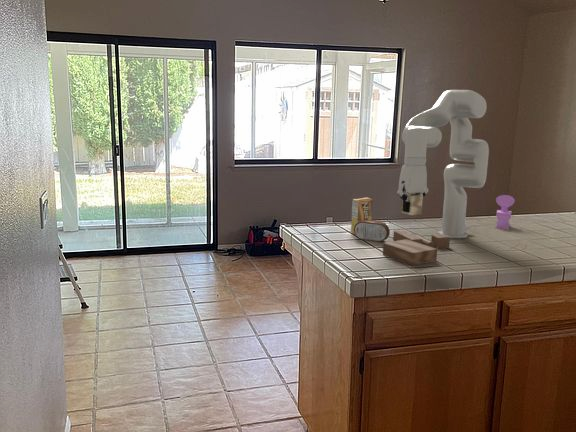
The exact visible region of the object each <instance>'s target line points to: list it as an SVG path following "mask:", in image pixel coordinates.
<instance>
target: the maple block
mask: <svg viewBox="0 0 576 432" xmlns="http://www.w3.org/2000/svg"><path fill="white" fill-rule="evenodd" d="M406 197H407V194H406ZM422 199H423V200H424V197H423V195H419V194H415V193H413V194H411V195H410V199H409V202H410V211H409V213H407V212H403V211H402V210H401V214H406V215H409V216H417V215H422V213H423V212H422V211H423V200H422ZM401 205H402V206H401V209H402V208H403V202H402V204H401Z"/></svg>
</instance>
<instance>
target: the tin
mask: <svg viewBox="0 0 576 432" xmlns="http://www.w3.org/2000/svg"><path fill="white" fill-rule="evenodd" d="M390 230H391V229H390V228H389V225H387V224H386V223H385V222H383V221H377V220H371V221H370V220H360V221H358V222H357V224H356V225H355V226H354V233H355V234H354V235H355V236H356V238H358V239H359V240H363V241H368V242H377V243H381V242H384V241H386V240H387V239H388V238H389V236H390Z"/></svg>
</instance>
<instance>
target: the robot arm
mask: <svg viewBox="0 0 576 432" xmlns="http://www.w3.org/2000/svg"><path fill="white" fill-rule="evenodd" d="M487 108H488V107H487V101H486V99H485V97H483V96H482V94H480V93H478V92H476V91H474V90H470V89H449V90H445V91H443V92H442V94H440V96H439V97H438V99H437V100H436V101H435V103H434V104H433V105H432V107H431V108H430V109H427V110H425V111H422V112H421V113H419V114H417V115H415V116H413V117H412V118H411V119H410V120H409V121H408V122H407V123H406V124H405V126H404V128H403V131H402V134H401V140H402V142H403V144H404V147H405V148H404V159H403V160H404V161H403V162H404V163H403V165H402V167H401V170H400V175H399V178H398V179H399V181H398V189H397V191H396V194H397V195H398V196H399V197H400V200H401V201H402V203H403V208H402V207H401V212H402V211H403V212H407V213H409V211H410V202H409V199H410V195H411V194H413V193H415V194H419V195H423V199H422V201H423V200H424V198H425V196H426V195H427V194H428V192H429V188H428V185H427V184H428V174H427V173H428V171H427V165H426V162H427V148H436V147H437V146H439V145H440V143H441V141H442V139H443V135H442V134H443V133H442V131H441V130H440V128H441V127H444V126H446V125H447V124H449V123H450V127H451V128H450V129H451V131H450V141H449V157H450V158H451V159H452V160H454V161H459V162H460V161H461V162H471V163H473V164H467V163H465V164H464V163H451V164H447V165H446V166H445V168H444V170H443V180H444V181H443V182H444V196H443V207H442V209H443V210H442V223H441V229H440V230H438V231H437V233H438V234H441V235H445V236H448V237H450V239H465V238H468V235H469V234H468V232H467V231H470V230H471V229H472V225H466V216H467V203H468V194H467V192H466V191H465V188H472V189H473V188H474V189H481V188H483V187H484V186H485V183H486V182H487V175H488V164H489V155H490V153H489V152H490V149H489V147H490V146H489V144H488V142H487V141H486V140H484V139H481V138H480V139H478V138H473V137H472V135H473V124H472V122H471V121H470V119H481V118H483V117H484V116H485V114H486V113H487ZM406 194H407V197H406Z"/></svg>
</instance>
